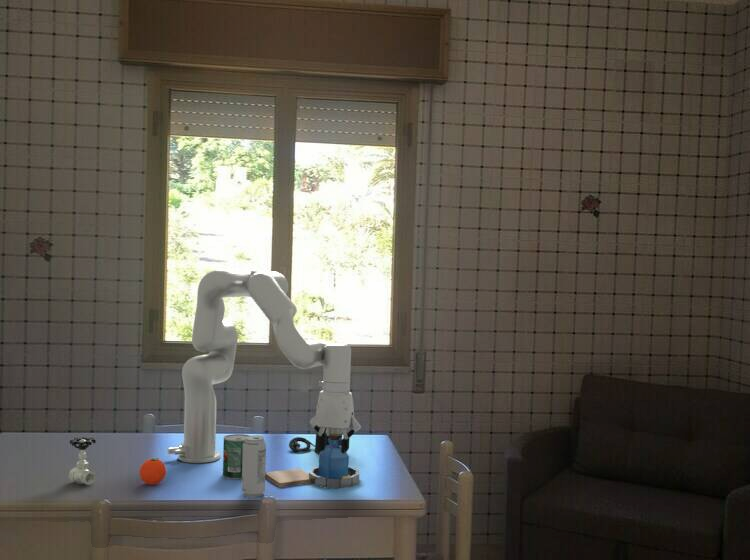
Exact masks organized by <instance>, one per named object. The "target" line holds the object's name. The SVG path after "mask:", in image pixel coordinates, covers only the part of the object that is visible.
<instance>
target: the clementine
mask: <svg viewBox="0 0 750 560" xmlns="http://www.w3.org/2000/svg"><path fill="white" fill-rule="evenodd" d="M166 475H167V468H166V465H165V463H164V462H163V461H162V460H161V459H159V457H153V458H150V459H147V460H146V461H144V462H143V463H142V464H141V465H140V468H139V476H140V479H141V481H142V482H143V483H145V484H146V485H149V486H155V485H159V484H160V483H161V482H162V481H163V480H164V479H165V477H166Z"/></svg>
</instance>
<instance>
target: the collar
mask: <svg viewBox="0 0 750 560" xmlns="http://www.w3.org/2000/svg"><path fill="white" fill-rule="evenodd" d="M308 474H309V478H311V483H310V484H311V485H313V484H314V485H313V486H315V485H317V487H320V486H321V487H320V488H324V487H326V488H327V487H330V488H329V489H345V488H350V487H353V486H356V485H358V484H360V470H359V469H357V468H356V467H353V466H349V465H348V475H341V476H340V478H326V477H321V476H319V465H317V466H314V467H312V468H310V469H309V472H308Z"/></svg>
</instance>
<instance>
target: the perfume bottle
mask: <svg viewBox="0 0 750 560" xmlns="http://www.w3.org/2000/svg"><path fill="white" fill-rule="evenodd" d="M329 437H330V438H329V439H328V443H329V445H325V447H324V450H323V451H321V452H320V453H319V454H318V455H319V457H318V466H319V476H321V477H326V478H340V476H341V475H348V466H349V458H350V456H349V455H348V453H347V452H345V453H342V452H341V451H342V446H340V445H339V443H340V441H341V439H340V434H336V433H332V434H329Z"/></svg>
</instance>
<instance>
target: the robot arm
mask: <svg viewBox="0 0 750 560" xmlns="http://www.w3.org/2000/svg"><path fill="white" fill-rule="evenodd" d="M288 291H289V283H288V280H287V278H286V277H285V276H284V275H283V274H282V273H279V272H278V271H265V270H258V269H257V270H255V269H247V268H245V269H244V268H243V269H242V268H221V269H215V270H212V271H209V272H208V273H206V274H205V275H204V276H202V278H201V279H200V281H199V283H198V287H197V297H196V300H197V301H196V309H195V315H194V319H193V320H194V321H193V326H192V327H193V328H192V335H191V343H192V346H193V348H194V349H195V350H196V351H198V352H200V353H201V352H202V353H207V352H208V354H202V355H195V356H193V357H191V358H189V359H188V360H187V361H186V362H185V363H184V364H183V366H182V369H181V377H182V384H183V389H184V392H183V393H184V419H183V421H184V422H183V423H184V425H183V426H184V427H183V428H184V429H183V433H184V434H183V442H181V443H180V445H178V446H177V447H174V446H173V447H168V448H167V454H168V455H177V457H178V460H179V461H181V462H184V463H189V464H204V463H211V462H215V461H218V460H219V459H220V458H221V453H220V451H217V450H216V439H217V438H216V435H217V431H216V430H217V395H216V392H215V389H214V386H213V385H216V384H217V385H218V384H220V383H221V384H222V383H224V382H226V381H227V380H228V379H230V377H231V376H232V373H233V371H234V366H235V359H236V353H237V349H238V347H237V346H238V338H239V337H238V330H237V329H236V325H234V323H232V321H230V320H227V319H224V318H225V302H224V298H236V297H237V298H239V297H243V298H244V297H251V298H252V300H253V301H254V303H255V304H256V305H257V307H259V309H260V310H261V311H262V313H263V314H264V316H265V317H266V318H267V319H268V321H269V322H270V323H271V325H272V328H273V334H274V338H275V342H276V345H277V346H278V348H279V349H280V350H281V352H282V353H283V354H284V356H285V357H286V358H287V360H288V361H289V362H290V363H291V364H292V365H293V366H294V367H296V368H298V369H301V370H308V369H312V368H315V367H322V366H323V376H322V377H323V380H322V381H318V387H321V388H322V390H320V391H319V394H318V398H317V405H316V406H317V408H316V412H315V415H314V416H313V417H312V418H311V419H310V420H309V424H310V425H311V426H312V428H314V430H315V432H316V431H317V433H318V435H319V436H320V447H321V451H323V450H324V447H325V445H327V434H326V431H327V428H332V429H341V430H342V451H341V452H342V453H345V452H346V453H347V452H348V450H349V449H350V438H351V437H352V436H353V435H355V433H357V432H358V431H359V430H360V429H361V428H362V426H361V424H360V423H359V421H358V420H357V419H356V417H355V411H354V410H355V409H354V407H355V406H354V398H353V394H352V392H351V391H350V390H351V389H350V388H351V385H350V384H351V366H352V365H351V362H352V361H351V360H352V348H351V345H349V344H348V343H344V342H331V341H326V340H323V339H313V340H305V339H304V338H303V336H302V335H301V334H300V333H299V331H298V330H297V328H296V327H295V323H294V318H295V316H296V314H297V312H298V311H297V307H296V305H295V304H294V303H293V301H292V300H291V298H290V297H289V296H288V295H287V293H288ZM350 427H353V428H351V429H350Z"/></svg>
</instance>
